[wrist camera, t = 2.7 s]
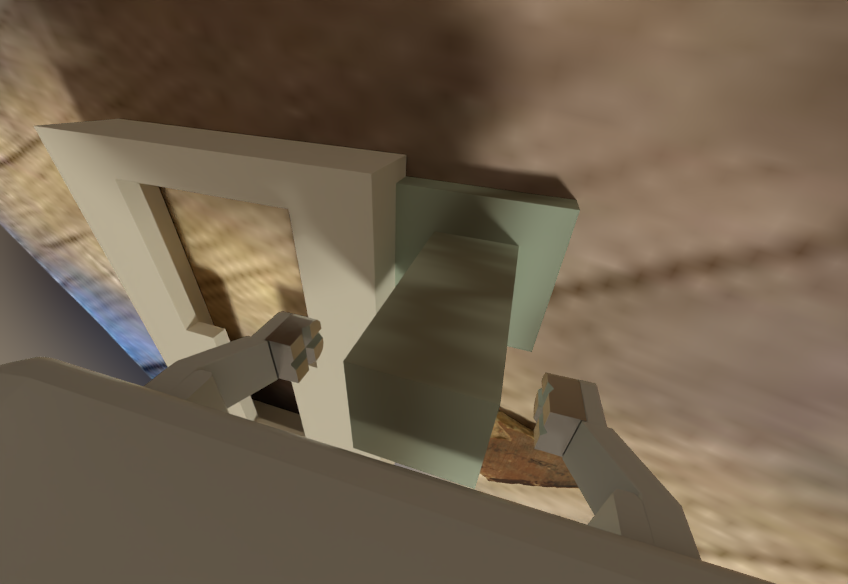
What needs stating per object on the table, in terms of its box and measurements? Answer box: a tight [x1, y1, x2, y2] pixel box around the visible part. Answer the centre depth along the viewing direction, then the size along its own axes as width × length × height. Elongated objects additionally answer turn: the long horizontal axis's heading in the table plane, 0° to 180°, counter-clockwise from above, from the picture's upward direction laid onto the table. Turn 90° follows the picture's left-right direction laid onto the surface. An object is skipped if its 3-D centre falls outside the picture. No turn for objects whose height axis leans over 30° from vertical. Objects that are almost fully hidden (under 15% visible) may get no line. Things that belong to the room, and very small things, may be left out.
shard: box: [480, 411, 579, 488], centre depth 25 cm, size 11×8×2 cm
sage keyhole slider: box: [343, 176, 580, 489], centre depth 13 cm, size 8×8×10 cm
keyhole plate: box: [34, 119, 406, 465], centre depth 23 cm, size 18×26×4 cm
